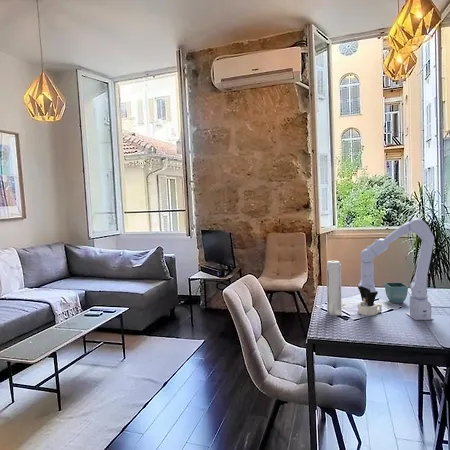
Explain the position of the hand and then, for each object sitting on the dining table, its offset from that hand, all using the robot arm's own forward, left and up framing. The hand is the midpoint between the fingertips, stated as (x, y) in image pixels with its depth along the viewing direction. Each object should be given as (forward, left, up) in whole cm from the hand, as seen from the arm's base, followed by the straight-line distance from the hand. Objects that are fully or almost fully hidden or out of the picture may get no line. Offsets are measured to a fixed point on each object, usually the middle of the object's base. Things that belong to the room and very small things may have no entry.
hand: (367, 303), depth 186 cm
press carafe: (0, -1, -4) cm, 5 cm away
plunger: (0, 0, -4) cm, 4 cm away
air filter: (+1, +15, -5) cm, 16 cm away
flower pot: (+15, -20, -5) cm, 25 cm away
